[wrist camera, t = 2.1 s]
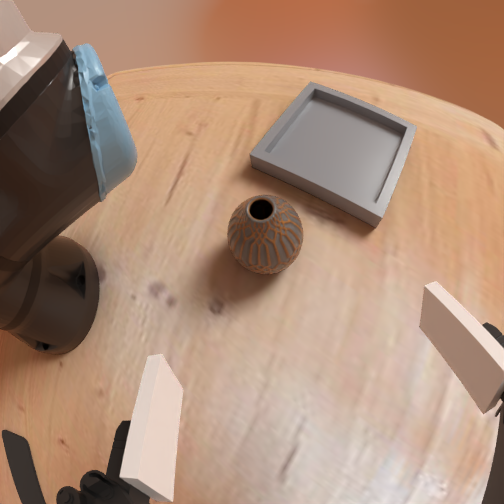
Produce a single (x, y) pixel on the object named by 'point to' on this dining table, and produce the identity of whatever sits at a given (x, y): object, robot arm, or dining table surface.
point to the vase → (265, 234)
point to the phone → (22, 468)
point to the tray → (337, 151)
